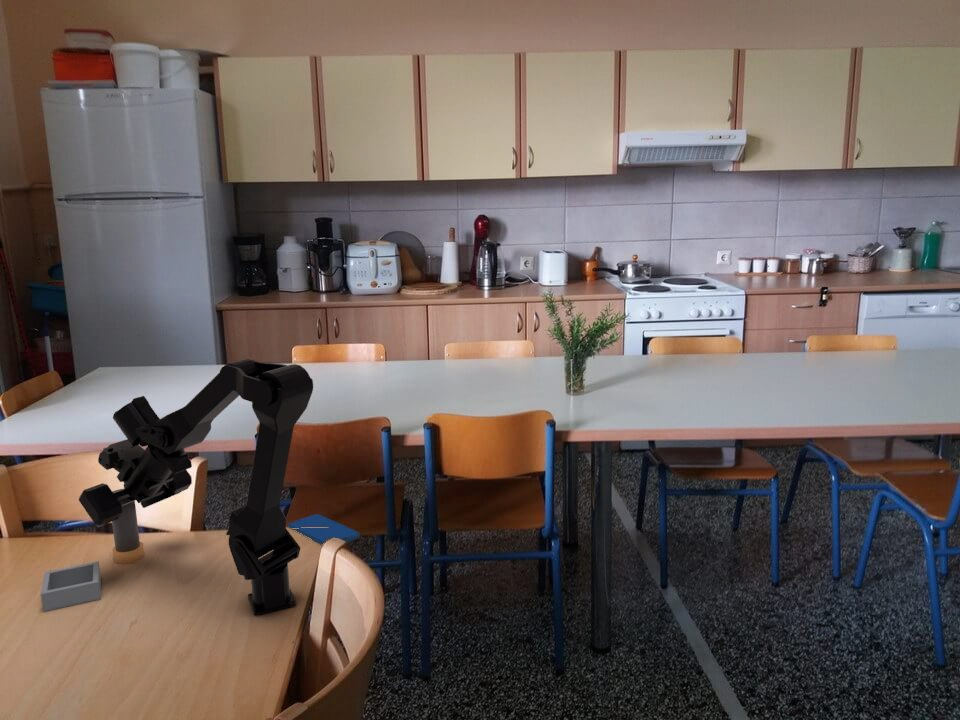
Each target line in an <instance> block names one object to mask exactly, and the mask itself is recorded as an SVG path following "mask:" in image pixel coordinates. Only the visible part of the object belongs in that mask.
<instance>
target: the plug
mask: <svg viewBox="0 0 960 720" xmlns="http://www.w3.org/2000/svg"><path fill="white" fill-rule="evenodd" d="M121 490H124V488H120V489H115V490H111V491H112V492H113V493H116V492H119V491H121ZM125 499H126V498H125ZM111 524H112V525H111V526H112V532H113V533H112V534H113V539H114V547H113V548H112V557H113V562H114V563H116V564H119V565H127V564H132V563H135V562H138V561H140V560H141V559H143V558H144V556H145V550H144V549H145V548H144V543H143V542H142V541H140V533H139V526H138V517H137V509H136V500H135V501H133V502H130V503H128V504H125V505H123V506H122V513H121V515H120V516H119V517H118V519H117V520H114V521H112V523H111ZM142 557H143V558H142ZM139 559H140V560H139Z"/></svg>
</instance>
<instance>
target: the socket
mask: <svg viewBox="0 0 960 720" xmlns="http://www.w3.org/2000/svg"><path fill="white" fill-rule="evenodd" d="M101 583H102V574H101V567H100V561H99V560H98V561H94V562H88V563H84V564H79V565H74V566H69V567H63V568H57V569H55V570H54V569H53V570H49V571H44V574H43V581H42V585H41V586H42V587H41V590H40V597H41V603H42V610H43V612H49V611H52V610H57V609H61V608H62V609H63V608H67V607H71V606H74V605H75V606H76V605H81V604H85V603H90V602H93V601H99V600H101V599H102V598H101V595H102V594H101V593H102V591H101V590H102V587H101V586H102V585H101Z"/></svg>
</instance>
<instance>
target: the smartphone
mask: <svg viewBox="0 0 960 720" xmlns="http://www.w3.org/2000/svg"><path fill="white" fill-rule="evenodd" d="M301 527H329V528H301ZM287 528H289V529H290V528H299V529H291V530H293V531H294V530H296V531H297V532H296V531H295V532H296V533H298V532H299V533H298V534H300V533H302V534H303V535H302V534H301V535H302V536H304V535H305V536H307V537H309V538H311V539H312V540H311V539H310V540H311V541H313V540H314V541H313V542H315V543H317V544H319V545H320V546H322V544H323V543H324V542H325V541H326V540H327V539H329V538H333V537H335V538H340V539H343V540H345V541H346V543H349V542H351V541H354V540H356V539H359V538H360V537H361V536H360V535H361V534H360V532H359V531H357V530H355V529H352V528H351V527H349V526H347V525H345V524H342V523H339V522H337V521H336V520H333V519H331V518H328V517H326V516H325V515H322V514H319V513H315V514H311V515H308V516H305V517H303V518H300V519H296V520H295V521H292V522H289V523H288V524H287ZM305 536H304V537H305ZM307 537H306V538H307ZM309 538H308V539H309ZM346 543H345V544H346Z"/></svg>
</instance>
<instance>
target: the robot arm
mask: <svg viewBox="0 0 960 720" xmlns="http://www.w3.org/2000/svg"><path fill="white" fill-rule="evenodd" d="M313 391H314V380H313V378H311V376H310V374H309V372H308V371H307V370H306V369H305V368H304V367H303V366H301V365H300V364H295V363H294V364H293V363H292V364H289V365H287V364H284V363H283V364H282V363H273V362H272V363H271V362H262V361H258V360H254V359H250V358H244V359H239V360H236V361H235V360H234V361H232V362H227V363H225V364H224V365H223V366H221V368H220V370H219V372H218V373H217V375H215V376H214V377H213V378H212V379H211V380H210V381H209V382H208V383H207V384H206V385H205V386H204V387H203V388H202V389H201V390H200V391H199V392H198V393H197V394H196V395H195V396H194V397H193V398H192V399H191V400H190V401H189V402H188V403H187V404H186V405H184V406H183V407H182V408H179V409H177V410H175V411H172V412H170V413H168V414H166V415H164V416H163V417H161V418H160V417H159V416H158V413H156V412H155V410H154V408H152V406H151V405H150V403H149V401H148V399H147V398H146V396H144V395H142V396H139V397H138V396H137V397H135V398H132V400H131V401H130V402H128V403H127V404H125V405H123V406H122V407H121V408H119V409H118V410H116V411H115V412H114V413H113V416H112V420H113V421H114V422H115V423H116V425H117V427H118V428H119V429H120V431H121V432H122V433H123V435H124V436H125V438H126V439H124V440H121V441H117V442H114V443H111V444H110V445H108V446H107V447H104V448H102V449H103V450H102V451H100V453H99V455H98V459H97V461H98V464H99V465H100V466H101V467H103V468H104V469H105V470H106V471H109V470H111V469H114V470H115V471H116V472H117V473H118V474H117V475H116V479H117V480H118V482H120V483H123V489H124V490H121V491H119V492H116V493H113V492H112V491H113V490H111V488H110V486H109V484H107V483H104V482H103V483H99V484H97V485H94V486H90V487H89V488H86V489H84V490H82V492H81V493H80V495H79V498H78V501H79V503H80V504H81V506H82V507H83V509H84V510H85V512H86V513H87V515H88V516H89V518H90V519H91V520H92V522H93V524H94V525H95V526H96V527H97V528H100V527H103V526H105V525H107V524H109V523H111V522H112V521H114V520H117V519H118V517H119V516H120V515H121V513H122V506H123V505H125V504H128V503H130V502H133V501H135V502H136V503H138V504H140V505H141V507H142V508H143V509H146V508H147V507H149V506H152V505H155V504H157V503H159V502H162V501H165V500H167V499H169V498H171V497H174V496H175V495H178V494H180V493H182V492H184V491H187V490H188V489H189V488H190V486H191V485H192V484H193V479H192V475H191V474H190V473H189V471H188V470H189V469H191V468H192V467H193V464H192V461H191V459H190V458H189V454H188V453H186V450H185V449H188V448H191V447H193V446H195V445H198V444H201V443H202V442H203V441H205V439H206V438H207V436H208V434H210V432H211V429H212V422H213V421H214V420H215V418H217V416H219V415H220V414H221V413H222V412H223V411H225V409H226V408H228V406H229V405H231V404H232V403H233V402H234V401H235V400H236V399H238V397H240V398H241V399H243V400H244V401H248V402H251V404H252V405H251V408H252V410H253V412H254V415H255V416H256V418H257V420H258V422H259V425H258V432H257V438H256V444H255V449H254V456H253V462H252V468H251V475H250V481H249V486H248V494H247V499H246V503H245V505H243V506H241V507H240V508H237V509H235V510H233V511H231V513H230V515H229V518H228V519H229V522H228V523H229V525H228V529H227V531H226V533H225V534H226V536H228V546H229V547H228V548H229V550H230V553H231V557H232V560H233V562H234V565H235V567H236V570H237V573H238V575H240V576H243V577H244V580H245V581H249V580H250V581H251V582H250V583H251V593H248V594H247V599H248V601H249V606H250V607H251V610H252V613H253V615H254V616H261V615H265V614H267V613H271V612H276V611H279V610H283V609H287V608H291V607H292V608H293V607H295V606H296V605H297V601H296V598H295V595H293V592H292V590H291V588H290V576H289V575H290V574H289V563H290V562H292V561H293V560H296V559H298V558H299V556H300V551H301V546H300V545H299V544H298V542H297V541H296V540H295V538H294V537H293V535H292V534H291V533H290V531H289V530H288V529H287V517H286V516H285V513H284V512H283V510H282V508H281V499H282V494H283V488H284V484H285V483H284V482H285V476H286V473H287V472H286V471H287V466H288V461H289V454H290V450H291V445H292V437H293V432H294V428H295V425H296V423H297V422H298V420H299V419H300V418H301V417H302V415H303V414H304V412H305V411H306V409H308V408H307V407H308V405H309V402H310V399H311V397H312V395H313ZM143 447H145V449H144V448H143ZM125 498H126V499H125Z"/></svg>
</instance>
